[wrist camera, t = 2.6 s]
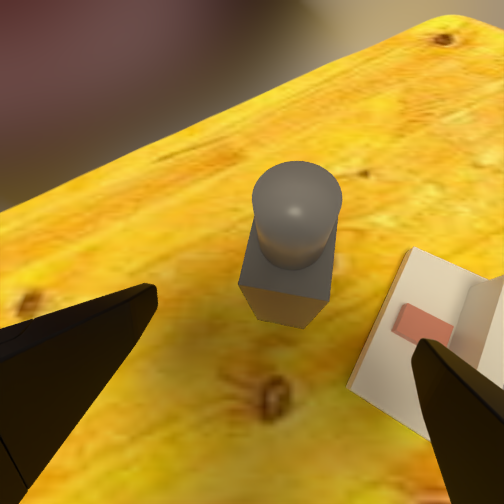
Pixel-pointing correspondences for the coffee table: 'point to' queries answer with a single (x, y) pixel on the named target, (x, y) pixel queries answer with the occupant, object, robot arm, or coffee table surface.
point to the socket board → (429, 332)
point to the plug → (291, 243)
